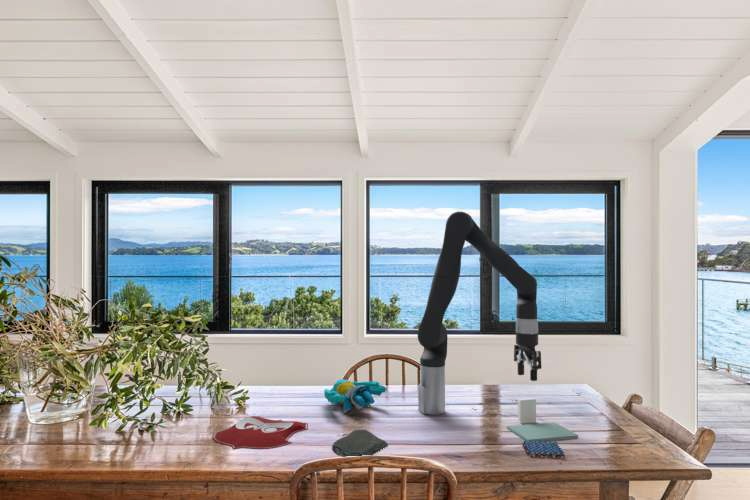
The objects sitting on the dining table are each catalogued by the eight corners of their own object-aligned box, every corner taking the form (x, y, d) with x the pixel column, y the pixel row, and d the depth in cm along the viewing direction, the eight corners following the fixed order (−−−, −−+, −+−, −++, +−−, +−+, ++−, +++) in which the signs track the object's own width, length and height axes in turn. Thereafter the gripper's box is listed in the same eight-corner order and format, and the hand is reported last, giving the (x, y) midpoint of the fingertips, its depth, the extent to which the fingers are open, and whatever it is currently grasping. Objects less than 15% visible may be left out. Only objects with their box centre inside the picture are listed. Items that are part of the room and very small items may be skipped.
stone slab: (388, 462, 143) (388, 455, 143) (328, 461, 144) (328, 454, 144) (388, 433, 167) (388, 427, 167) (336, 432, 168) (336, 426, 168)
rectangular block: (520, 423, 176) (520, 400, 176) (518, 422, 178) (518, 399, 178) (536, 422, 177) (536, 399, 177) (533, 420, 179) (533, 398, 179)
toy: (393, 416, 187) (358, 410, 207) (395, 383, 190) (360, 380, 210) (340, 414, 175) (309, 408, 196) (343, 378, 178) (312, 376, 199)
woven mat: (520, 446, 157) (520, 439, 157) (556, 447, 155) (556, 440, 156) (527, 459, 146) (527, 452, 146) (565, 461, 145) (565, 453, 145)
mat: (527, 442, 158) (527, 439, 158) (507, 428, 171) (507, 426, 171) (578, 437, 162) (578, 435, 162) (554, 424, 175) (554, 422, 175)
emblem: (191, 435, 156) (247, 408, 184) (191, 445, 156) (247, 416, 184) (275, 448, 146) (319, 417, 174) (275, 458, 146) (319, 426, 174)
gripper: (507, 328, 184) (507, 373, 184) (527, 334, 170) (528, 383, 170) (526, 328, 186) (526, 372, 185) (547, 333, 172) (548, 382, 172)
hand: (527, 377), depth 178 cm, fingers open, 8 cm apart
